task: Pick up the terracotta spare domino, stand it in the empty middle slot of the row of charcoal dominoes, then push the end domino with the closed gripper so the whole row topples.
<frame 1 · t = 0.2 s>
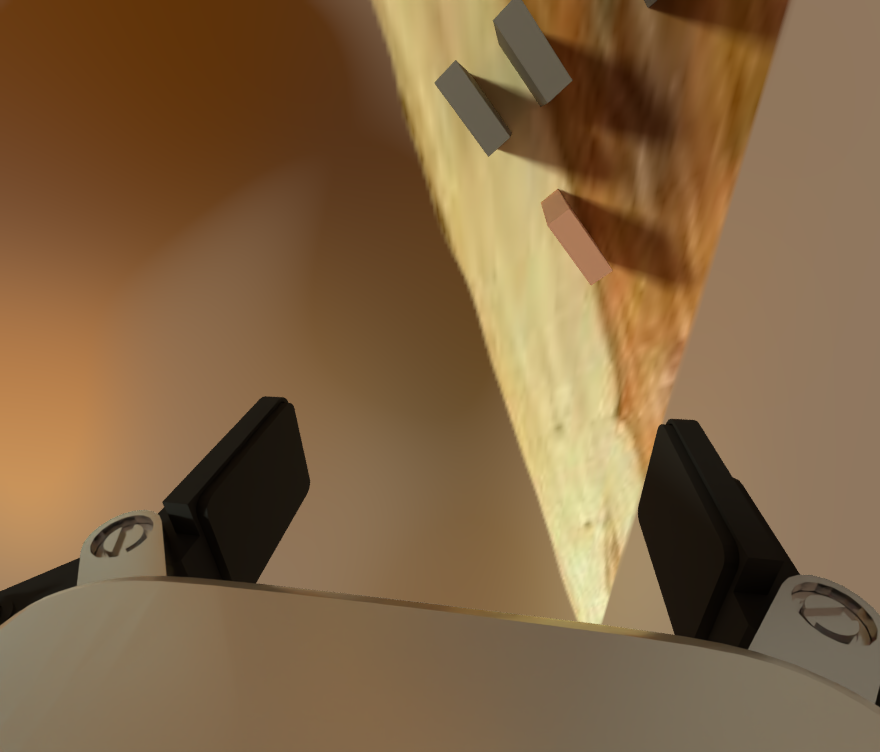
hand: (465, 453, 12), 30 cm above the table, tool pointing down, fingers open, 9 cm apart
domino 4: (529, 67, 32), on the table
domino 5: (483, 112, 34), on the table
spare domino: (567, 220, 37), on the table
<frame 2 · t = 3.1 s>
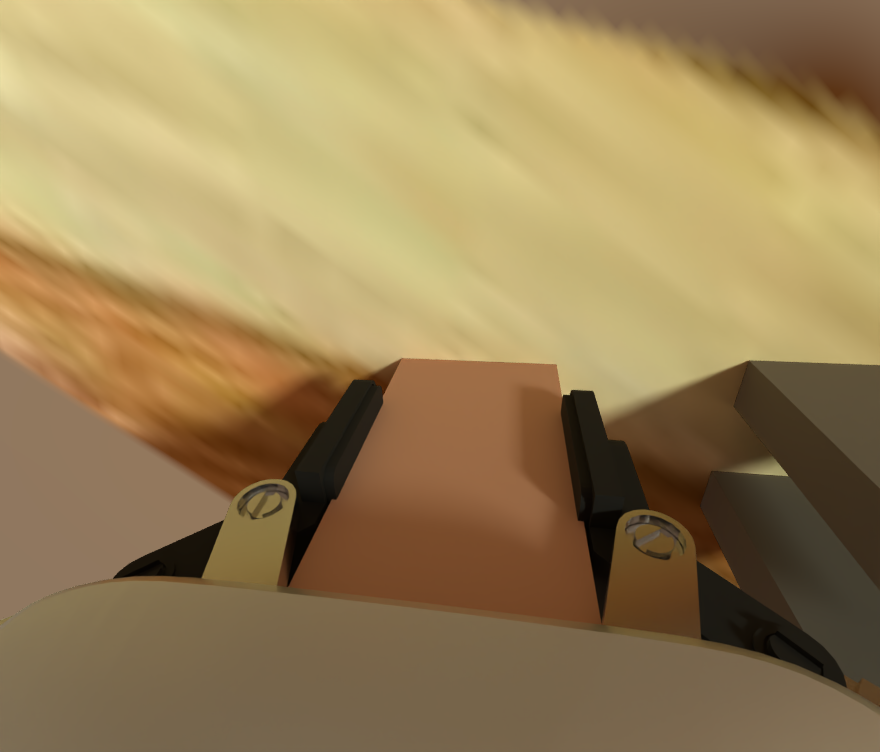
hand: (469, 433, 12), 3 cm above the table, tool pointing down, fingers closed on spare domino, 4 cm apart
domino 4: (784, 495, 15), on the table
domino 5: (833, 388, 13), on the table
spare domino: (476, 382, 15), on the table, touching gripper
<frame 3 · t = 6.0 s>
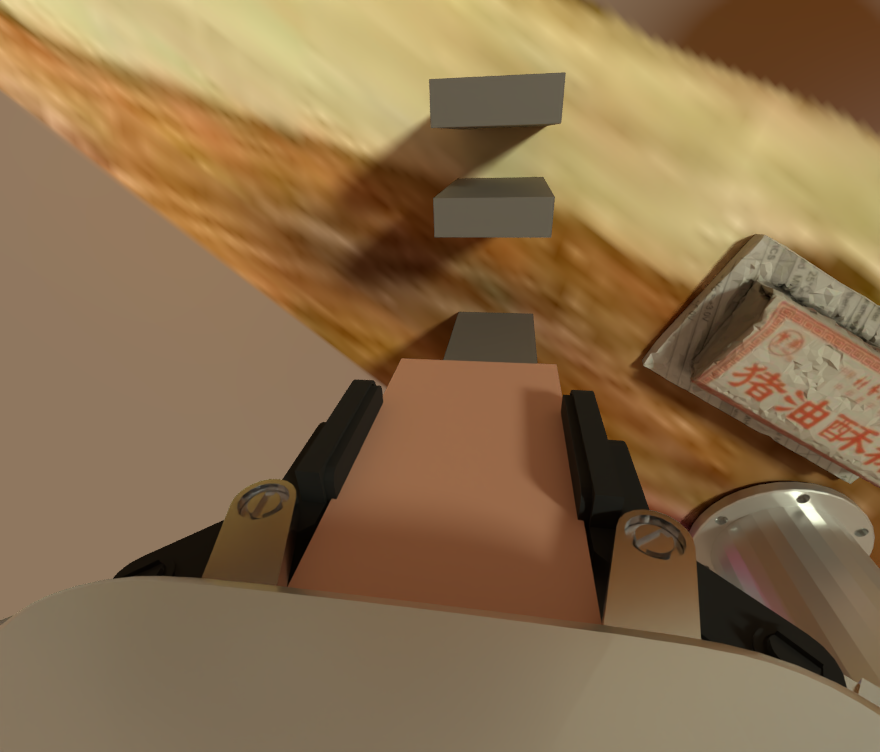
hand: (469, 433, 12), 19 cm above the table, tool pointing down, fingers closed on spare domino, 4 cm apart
domino 2: (495, 323, 31), on the table
packaged product: (799, 363, 30), on the table
domino 4: (499, 192, 27), on the table
domino 5: (502, 110, 25), on the table
spare domino: (476, 382, 15), point 16 cm above the table, touching gripper
when the fingers open (4 cm above the table, at t = 9.0 s): spare domino stays where it is, on the table.
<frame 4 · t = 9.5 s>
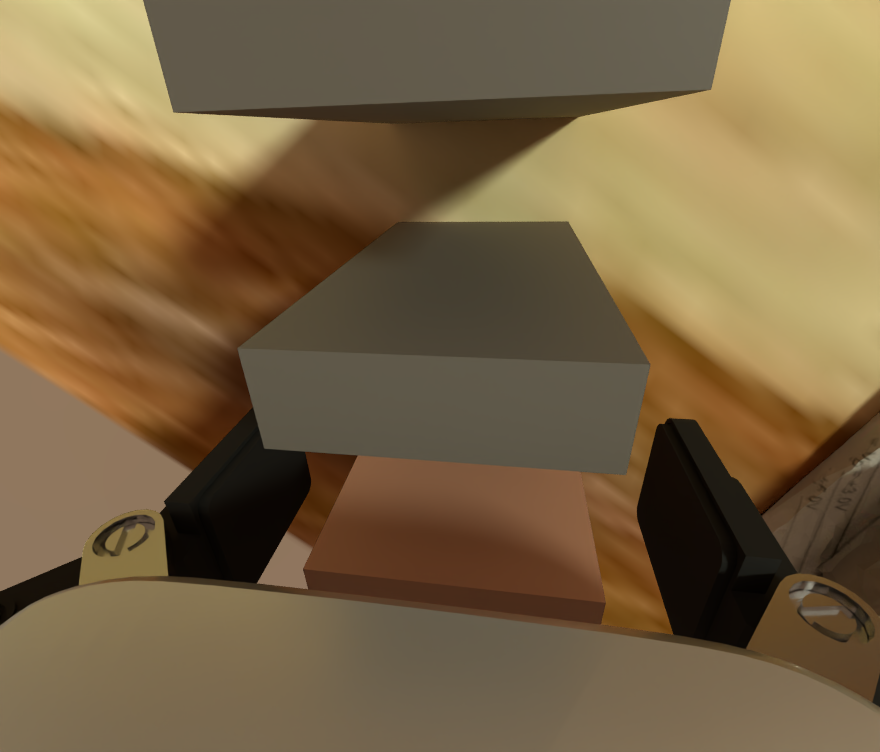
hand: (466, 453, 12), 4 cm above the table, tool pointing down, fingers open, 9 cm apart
domino 4: (480, 249, 14), on the table
domino 5: (482, 84, 12), on the table
spare domino: (481, 371, 16), on the table
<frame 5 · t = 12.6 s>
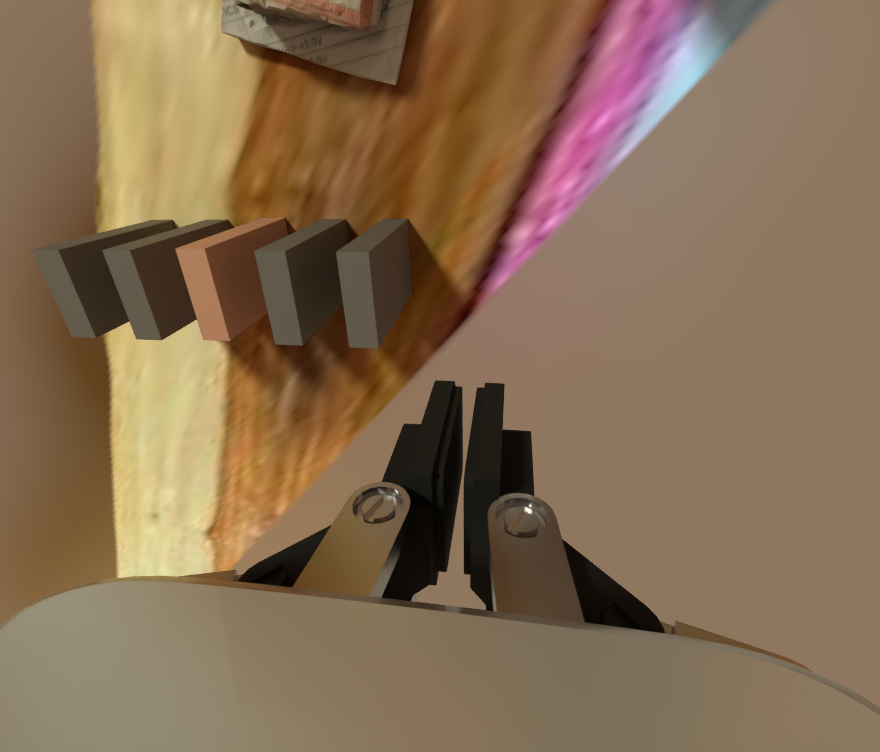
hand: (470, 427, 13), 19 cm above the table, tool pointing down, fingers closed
domino 2: (339, 257, 31), on the table
domino 1: (398, 257, 30), on the table
domino 4: (226, 256, 32), on the table
domino 5: (173, 255, 33), on the table
spare domino: (281, 255, 31), on the table
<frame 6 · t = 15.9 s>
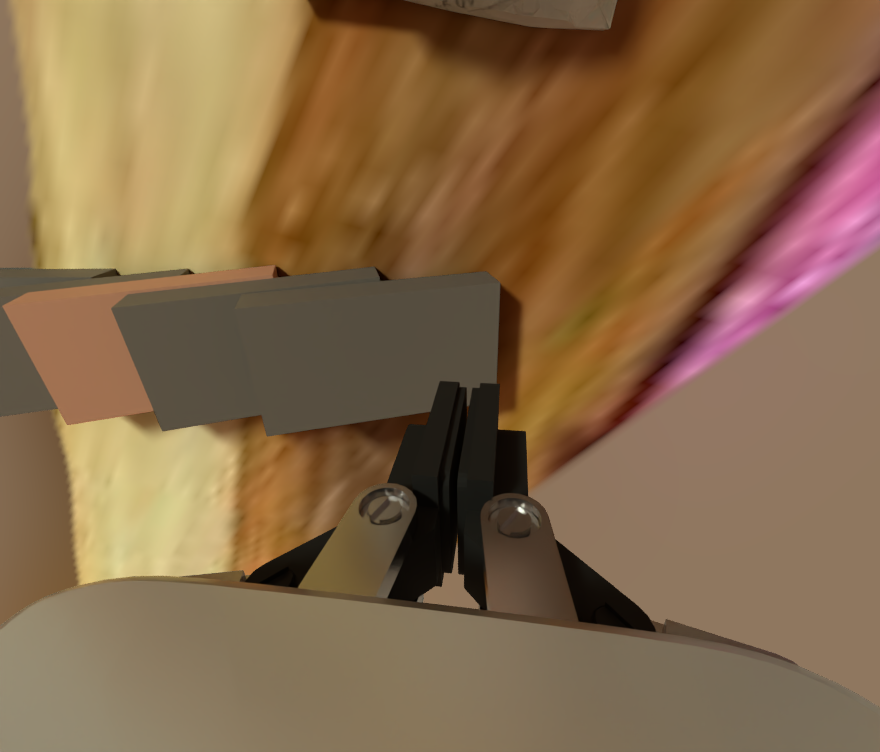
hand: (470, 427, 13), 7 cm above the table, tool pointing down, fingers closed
domino 2: (383, 331, 19), point 1 cm above the table, tilted 67°, touching domino 1, spare domino
domino 1: (491, 338, 18), point 1 cm above the table, tilted 68°, touching domino 2
domino 4: (201, 329, 20), point 1 cm above the table, tilted 70°, touching spare domino
domino 5: (128, 325, 21), on the table, tilted 90°
spare domino: (287, 327, 19), point 1 cm above the table, tilted 68°, touching domino 2, domino 4
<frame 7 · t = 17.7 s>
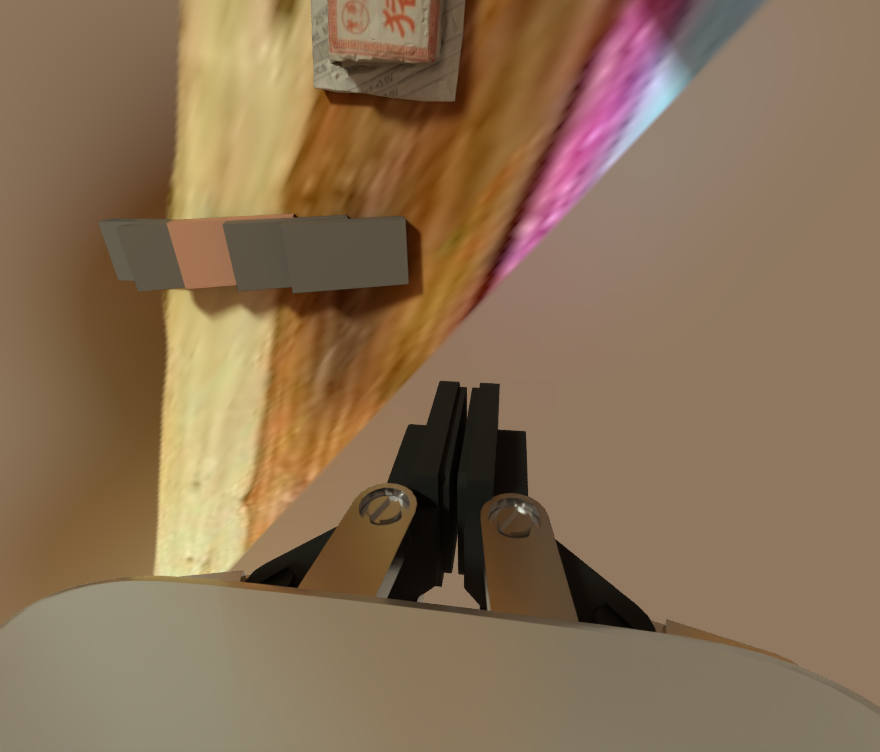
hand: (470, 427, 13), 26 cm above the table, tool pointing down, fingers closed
domino 2: (350, 248, 36), point 1 cm above the table, tilted 69°, touching domino 1, spare domino
domino 1: (405, 250, 36), point 1 cm above the table, tilted 69°, touching domino 2
domino 4: (248, 249, 37), point 1 cm above the table, tilted 70°, touching domino 5, spare domino
domino 5: (209, 251, 38), on the table, tilted 90°, touching domino 4
spare domino: (298, 247, 37), point 1 cm above the table, tilted 69°, touching domino 2, domino 4
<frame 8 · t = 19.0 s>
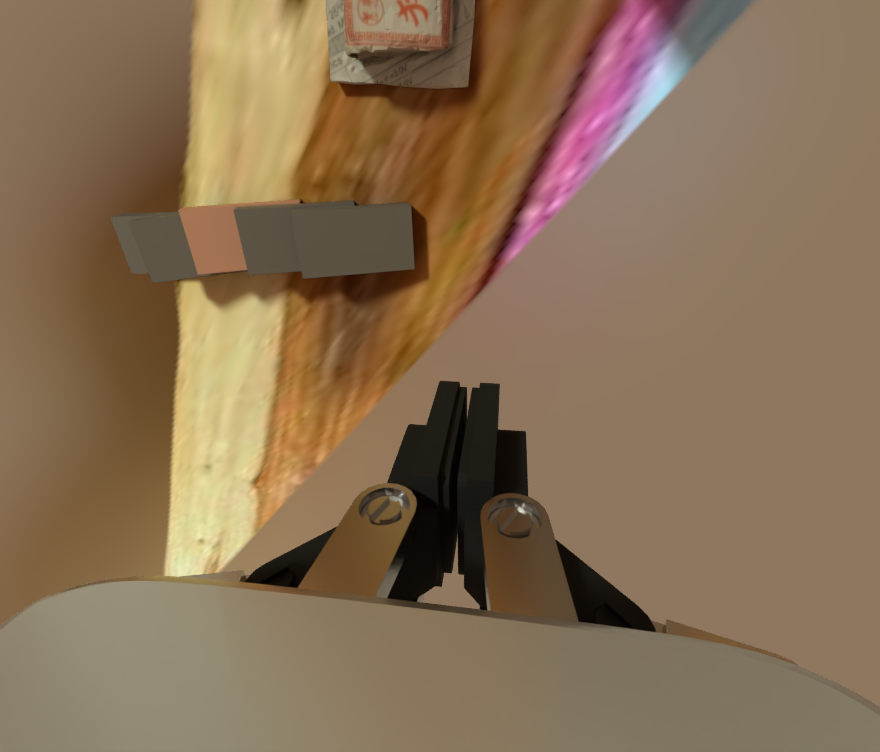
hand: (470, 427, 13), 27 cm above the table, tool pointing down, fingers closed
domino 2: (357, 233, 37), point 1 cm above the table, tilted 69°, touching domino 1, spare domino
domino 1: (411, 236, 37), point 1 cm above the table, tilted 69°, touching domino 2
domino 4: (255, 237, 39), point 1 cm above the table, tilted 70°, touching domino 5, spare domino
domino 5: (217, 241, 39), point 1 cm above the table, tilted 90°, touching domino 4
spare domino: (305, 232, 38), point 1 cm above the table, tilted 69°, touching domino 2, domino 4
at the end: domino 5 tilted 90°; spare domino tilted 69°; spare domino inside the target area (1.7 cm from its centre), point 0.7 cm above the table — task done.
